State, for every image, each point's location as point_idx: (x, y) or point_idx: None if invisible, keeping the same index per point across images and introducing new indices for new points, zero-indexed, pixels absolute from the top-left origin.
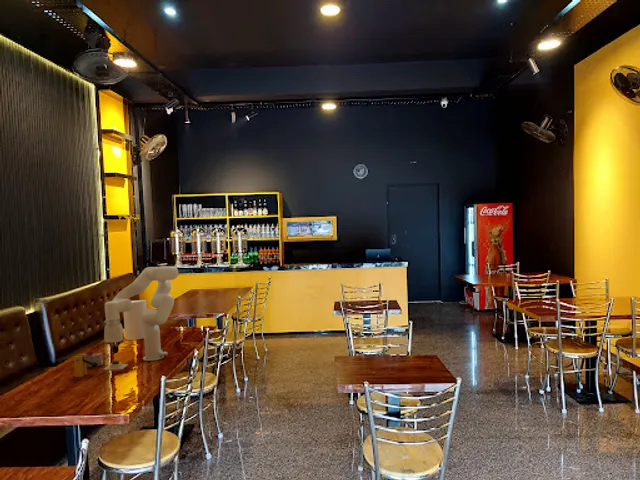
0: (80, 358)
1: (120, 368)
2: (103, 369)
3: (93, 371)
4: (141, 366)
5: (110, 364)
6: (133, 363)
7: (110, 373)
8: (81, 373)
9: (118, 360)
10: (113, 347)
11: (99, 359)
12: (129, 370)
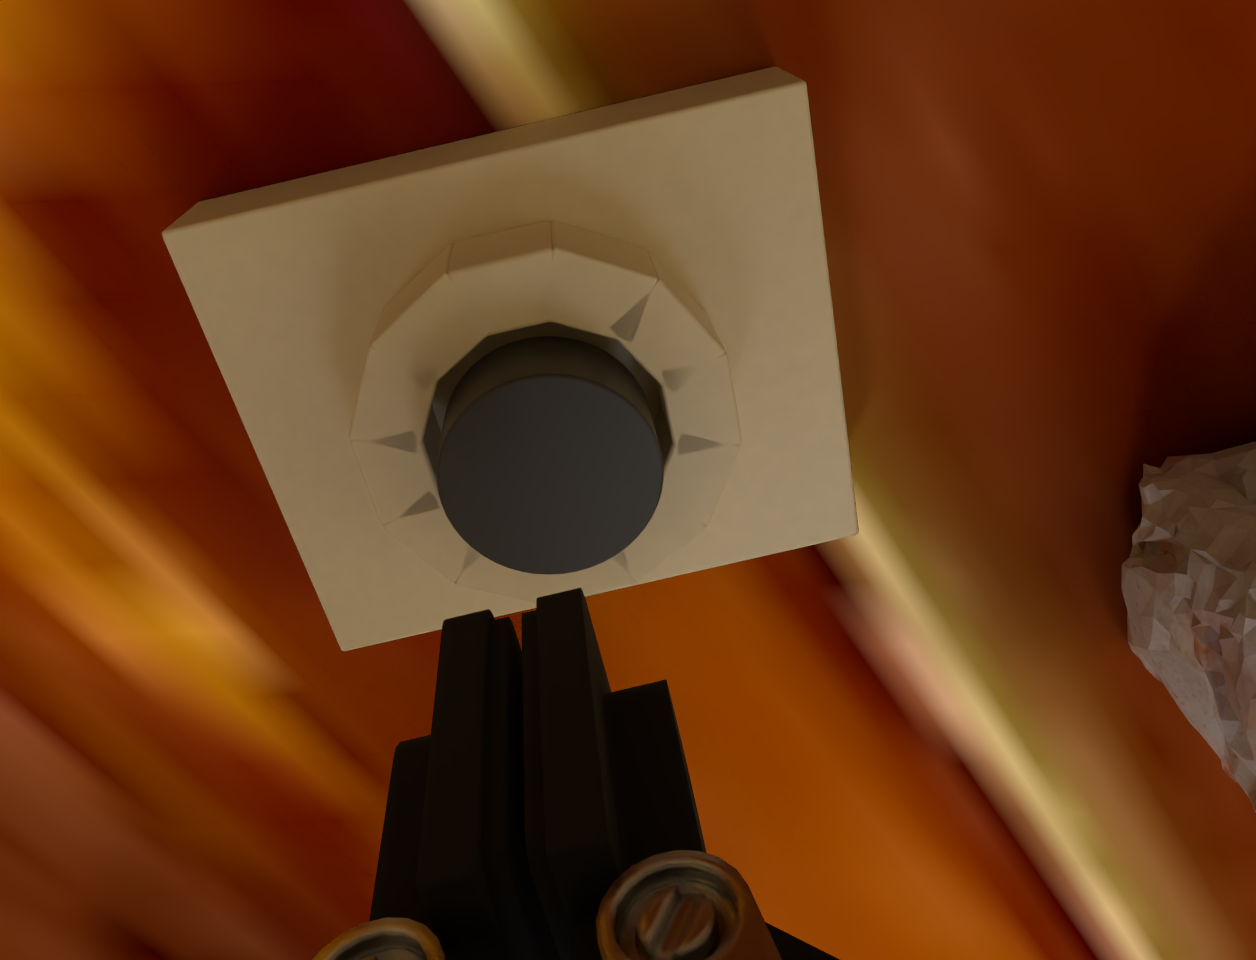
0: None
1: (225, 218)
2: (799, 80)
3: (1180, 212)
4: (53, 695)
5: (670, 324)
6: None
7: (514, 38)
8: None
9: (494, 561)
10: (563, 835)
11: (1245, 581)
12: (104, 368)
